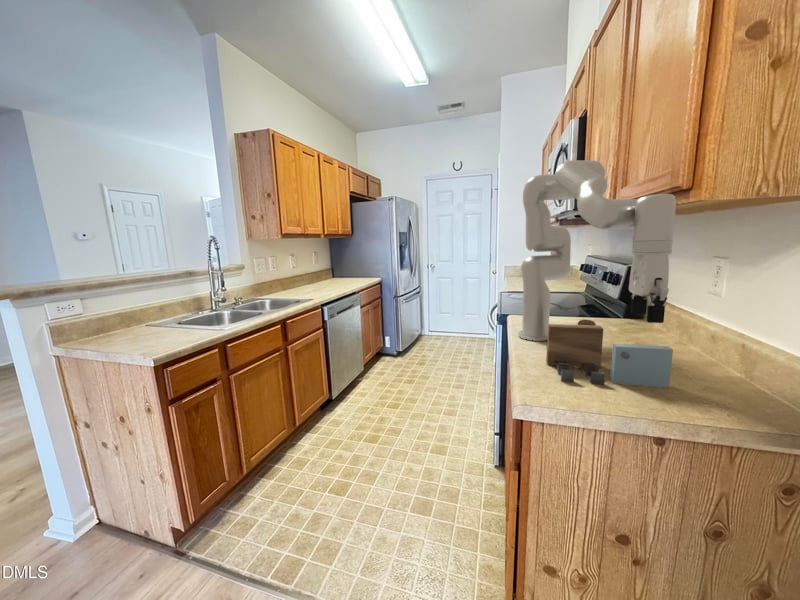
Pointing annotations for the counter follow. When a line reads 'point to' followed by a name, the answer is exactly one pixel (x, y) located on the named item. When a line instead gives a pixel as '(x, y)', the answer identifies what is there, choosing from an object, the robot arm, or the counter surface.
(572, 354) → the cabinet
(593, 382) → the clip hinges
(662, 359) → the block
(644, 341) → the counter surface
